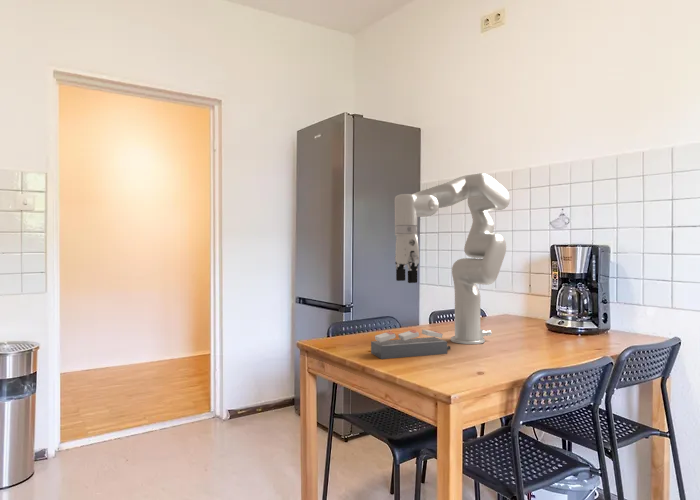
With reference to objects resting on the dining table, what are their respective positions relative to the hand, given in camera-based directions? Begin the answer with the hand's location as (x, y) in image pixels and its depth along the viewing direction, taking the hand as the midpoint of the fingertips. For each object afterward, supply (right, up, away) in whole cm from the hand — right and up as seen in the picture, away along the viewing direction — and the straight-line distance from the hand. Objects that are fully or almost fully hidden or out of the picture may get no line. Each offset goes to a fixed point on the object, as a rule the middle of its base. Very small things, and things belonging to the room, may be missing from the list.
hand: (406, 281), depth 164 cm
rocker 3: (+9, -19, +3) cm, 21 cm away
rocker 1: (-7, -19, -3) cm, 20 cm away
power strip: (+3, -24, +1) cm, 24 cm away
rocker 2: (+1, -19, 0) cm, 19 cm away
